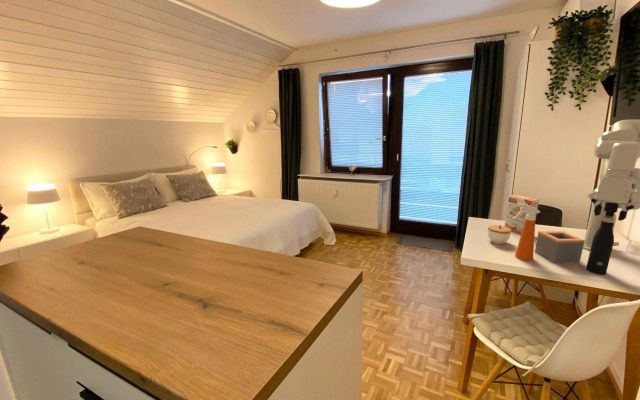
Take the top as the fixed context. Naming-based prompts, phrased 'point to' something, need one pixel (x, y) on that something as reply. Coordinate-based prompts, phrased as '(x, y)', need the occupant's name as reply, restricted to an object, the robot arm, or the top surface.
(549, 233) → the sleeve
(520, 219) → the cracker box
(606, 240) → the black water bottle
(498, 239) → the lidded jar
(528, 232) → the spray bottle
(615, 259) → the top surface
